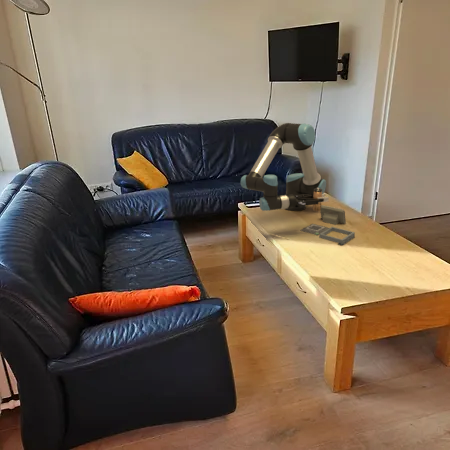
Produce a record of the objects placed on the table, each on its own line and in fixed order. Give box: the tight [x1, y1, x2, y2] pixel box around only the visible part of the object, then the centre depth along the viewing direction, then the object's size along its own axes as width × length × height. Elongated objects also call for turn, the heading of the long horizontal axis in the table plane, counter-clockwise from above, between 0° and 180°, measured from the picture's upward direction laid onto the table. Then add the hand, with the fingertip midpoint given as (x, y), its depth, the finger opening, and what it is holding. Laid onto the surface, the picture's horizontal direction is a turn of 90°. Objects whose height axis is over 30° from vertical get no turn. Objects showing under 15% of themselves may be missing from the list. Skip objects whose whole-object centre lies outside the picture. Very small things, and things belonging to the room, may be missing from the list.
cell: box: [312, 188, 322, 212], centre depth 224 cm, size 4×4×13 cm
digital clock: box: [319, 204, 347, 226], centre depth 240 cm, size 16×9×11 cm, turn 38°
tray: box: [318, 226, 356, 246], centre depth 220 cm, size 14×14×3 cm
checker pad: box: [299, 223, 330, 236], centre depth 231 cm, size 14×12×2 cm
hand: (326, 197), depth 224 cm, fingers closed on cell, 4 cm apart
